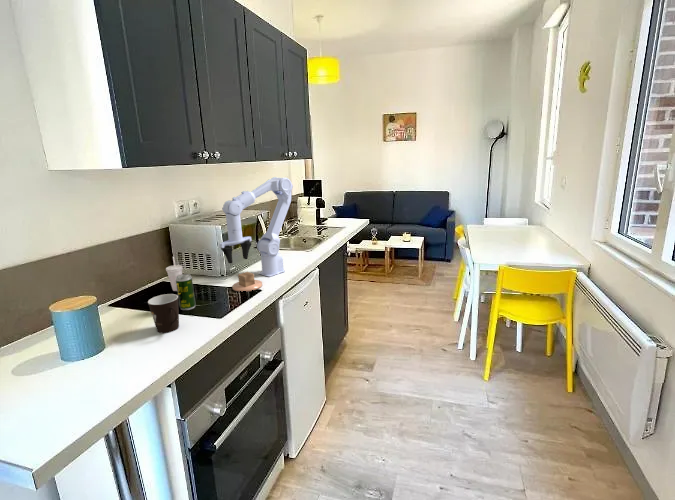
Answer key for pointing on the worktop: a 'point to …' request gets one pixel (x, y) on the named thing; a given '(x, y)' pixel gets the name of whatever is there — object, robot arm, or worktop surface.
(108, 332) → the worktop surface
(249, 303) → the worktop surface
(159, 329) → the coffee mug
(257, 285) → the terracotta dish
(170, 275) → the smoothie
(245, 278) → the walnut block
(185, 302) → the beer can
